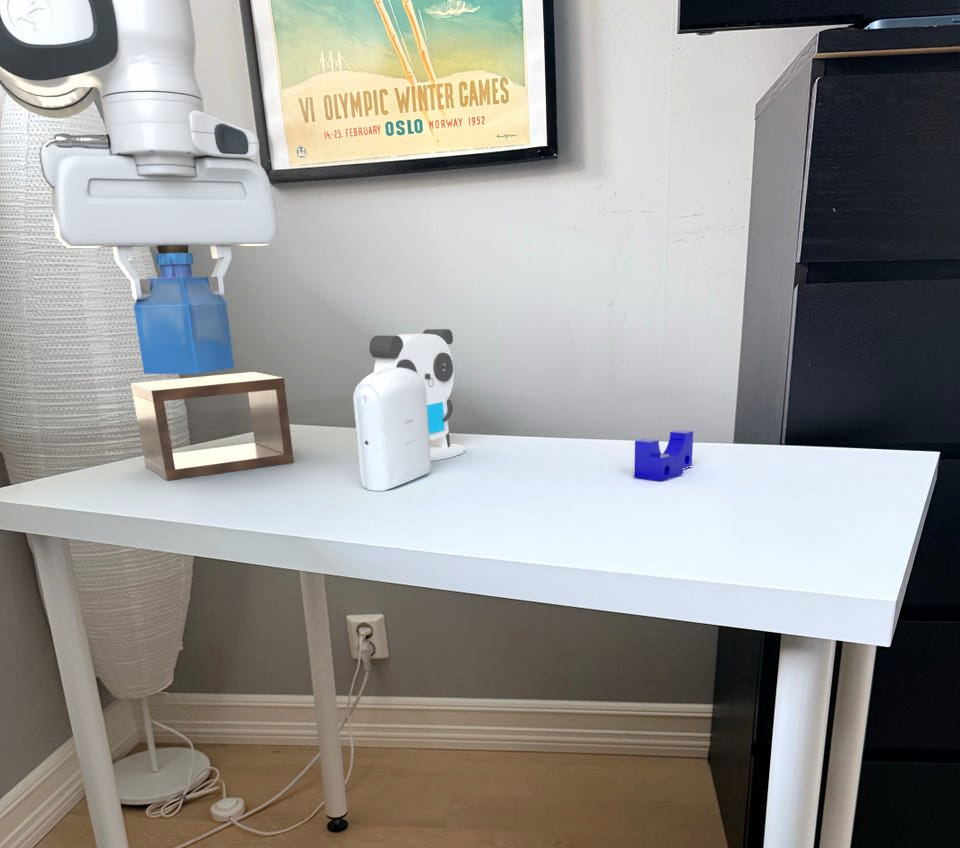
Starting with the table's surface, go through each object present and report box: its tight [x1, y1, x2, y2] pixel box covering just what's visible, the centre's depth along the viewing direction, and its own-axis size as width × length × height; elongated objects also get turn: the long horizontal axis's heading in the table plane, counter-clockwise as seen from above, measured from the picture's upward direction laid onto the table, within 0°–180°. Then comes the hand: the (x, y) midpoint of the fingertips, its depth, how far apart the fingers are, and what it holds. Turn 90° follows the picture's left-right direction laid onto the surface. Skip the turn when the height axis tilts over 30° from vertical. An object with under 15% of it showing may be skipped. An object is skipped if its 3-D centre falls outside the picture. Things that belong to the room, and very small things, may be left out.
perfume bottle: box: [133, 245, 235, 375], centre depth 90 cm, size 6×6×12 cm
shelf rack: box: [130, 371, 295, 482], centre depth 117 cm, size 16×12×10 cm
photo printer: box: [352, 367, 432, 492], centre depth 102 cm, size 10×4×12 cm, turn 153°
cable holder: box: [634, 429, 694, 482], centre depth 101 cm, size 8×4×4 cm, turn 135°
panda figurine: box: [368, 328, 466, 461], centre depth 117 cm, size 12×11×15 cm
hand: (180, 297), depth 90 cm, fingers closed on perfume bottle, 5 cm apart
